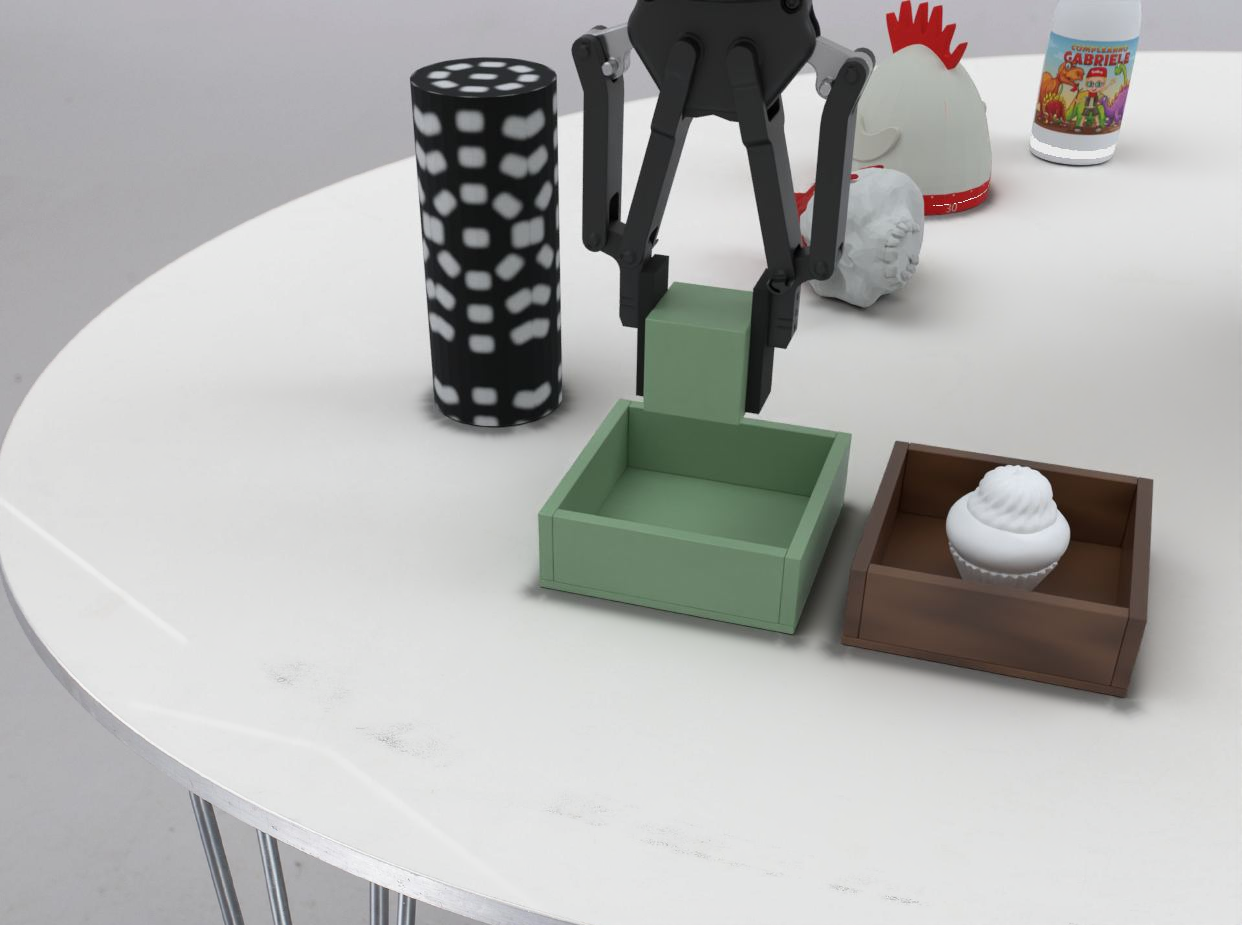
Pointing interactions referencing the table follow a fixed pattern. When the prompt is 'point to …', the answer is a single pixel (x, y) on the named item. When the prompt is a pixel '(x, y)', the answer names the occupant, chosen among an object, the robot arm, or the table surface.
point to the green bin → (696, 516)
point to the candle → (872, 235)
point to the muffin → (1008, 529)
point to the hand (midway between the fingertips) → (703, 392)
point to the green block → (698, 353)
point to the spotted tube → (490, 236)
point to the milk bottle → (1086, 76)
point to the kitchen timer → (925, 114)
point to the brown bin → (994, 615)
